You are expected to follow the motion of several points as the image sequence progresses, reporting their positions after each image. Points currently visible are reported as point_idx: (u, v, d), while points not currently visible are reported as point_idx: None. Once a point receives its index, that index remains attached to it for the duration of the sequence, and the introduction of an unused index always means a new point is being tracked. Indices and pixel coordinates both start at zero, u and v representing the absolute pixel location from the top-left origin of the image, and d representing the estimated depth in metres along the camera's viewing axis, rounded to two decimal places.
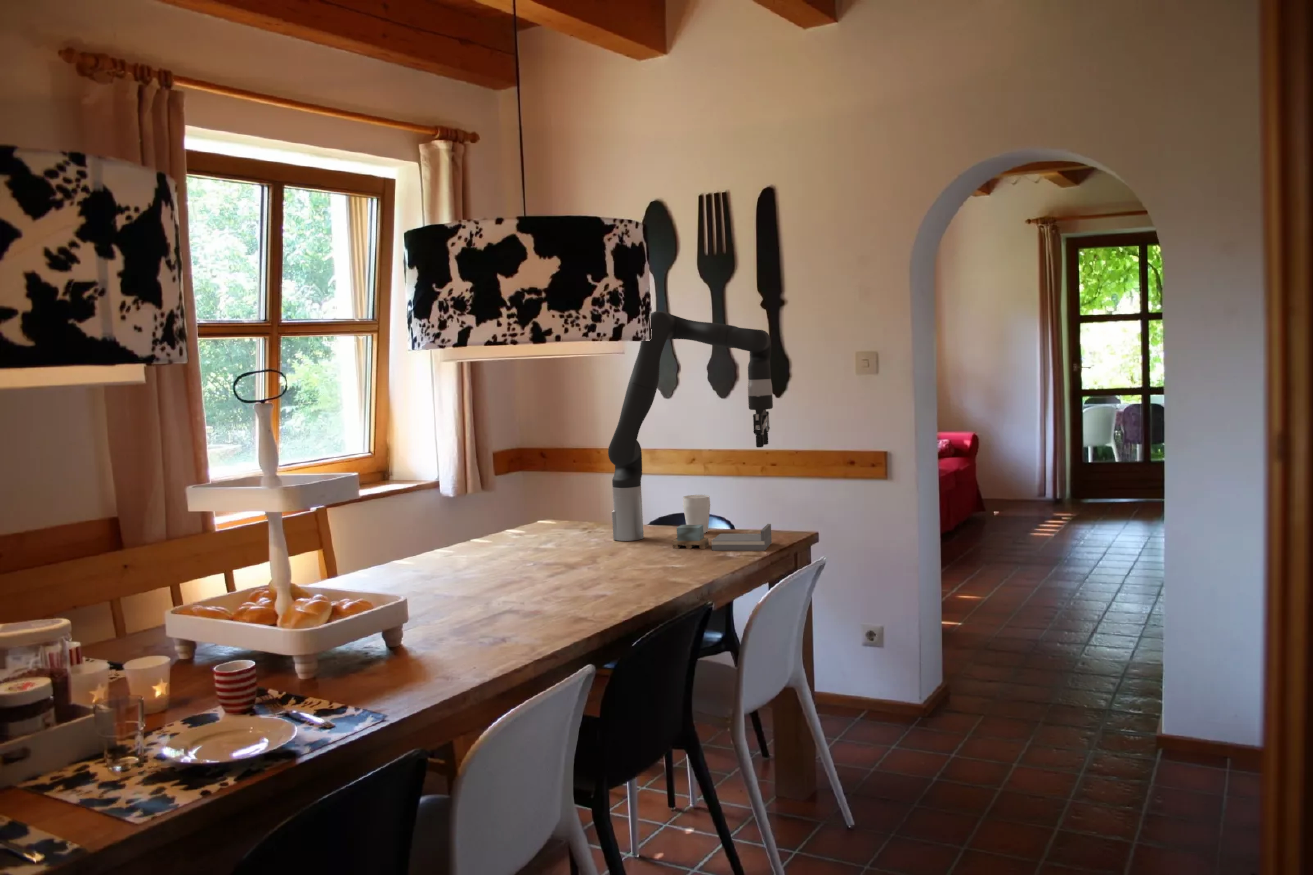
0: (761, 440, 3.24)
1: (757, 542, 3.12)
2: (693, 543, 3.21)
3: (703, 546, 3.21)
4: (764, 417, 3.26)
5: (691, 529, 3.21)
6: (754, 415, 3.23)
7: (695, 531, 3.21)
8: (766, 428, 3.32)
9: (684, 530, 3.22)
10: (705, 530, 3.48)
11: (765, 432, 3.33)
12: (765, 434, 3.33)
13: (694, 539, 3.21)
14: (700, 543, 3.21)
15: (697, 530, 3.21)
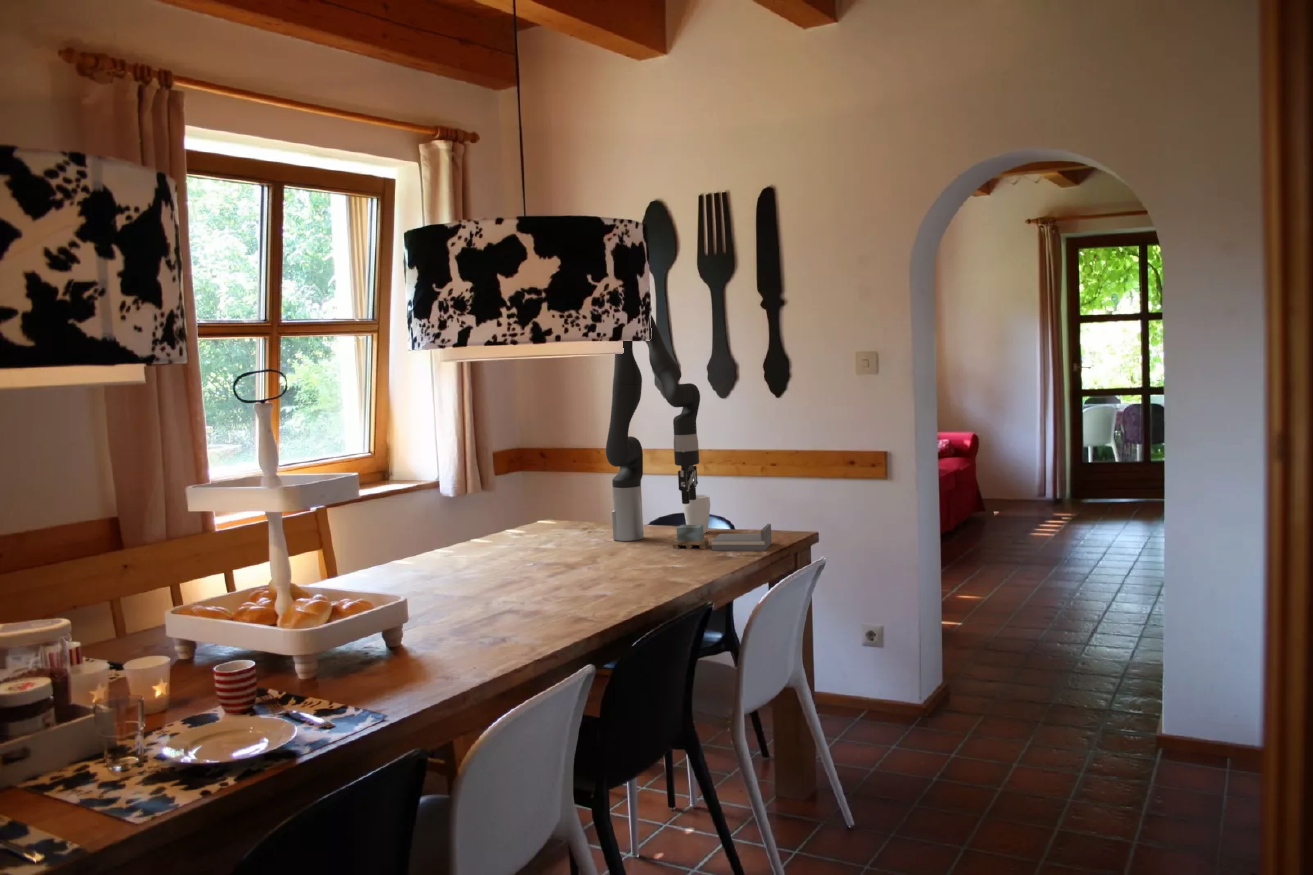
0: (687, 497, 3.18)
1: (757, 542, 3.12)
2: (693, 543, 3.21)
3: (703, 546, 3.21)
4: (690, 473, 3.20)
5: (691, 529, 3.21)
6: (679, 471, 3.17)
7: (695, 531, 3.21)
8: (693, 483, 3.26)
9: (684, 530, 3.22)
10: (705, 530, 3.48)
11: (693, 487, 3.27)
12: (693, 489, 3.27)
13: (694, 539, 3.21)
14: (700, 543, 3.21)
15: (697, 530, 3.21)
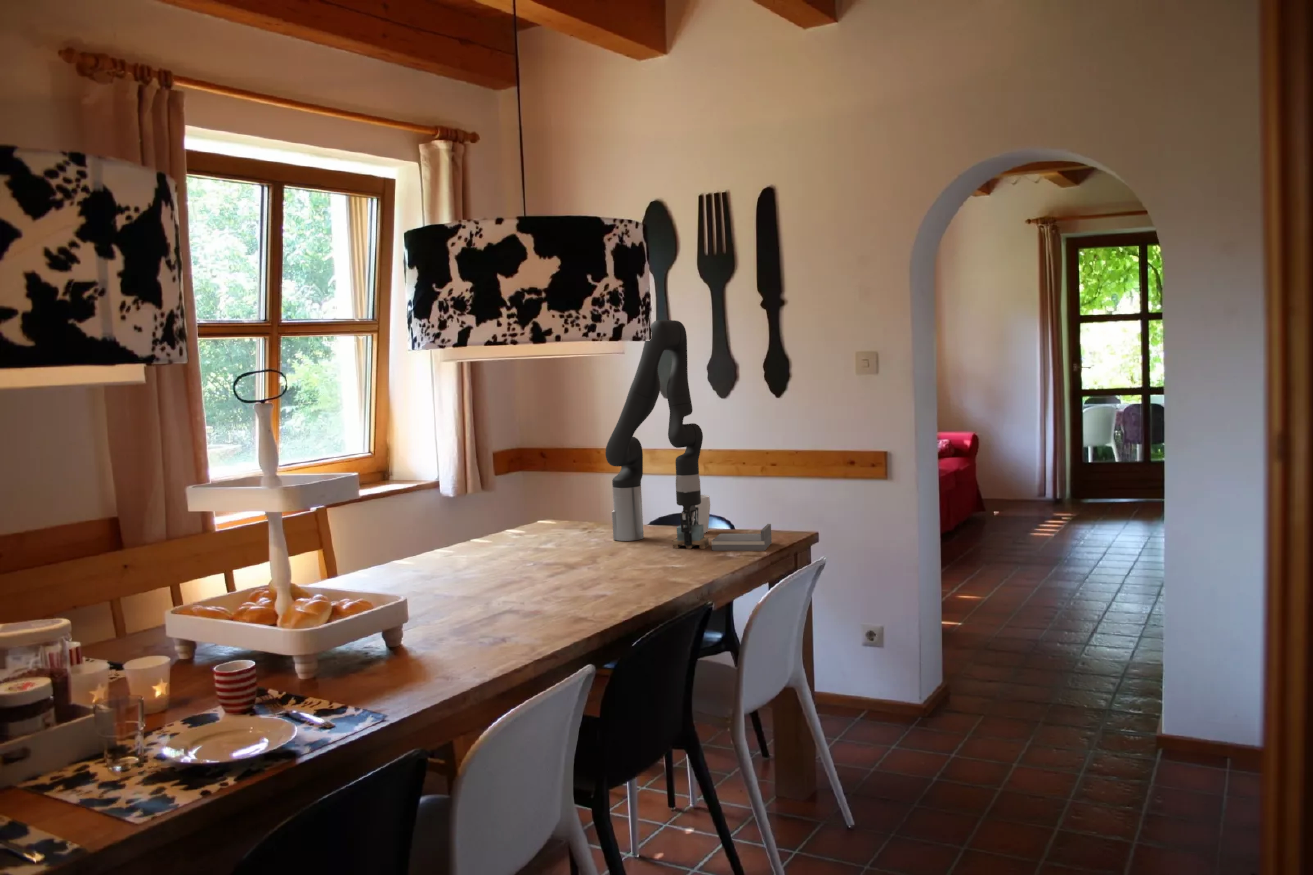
0: (689, 538, 3.20)
1: (757, 542, 3.12)
2: (693, 543, 3.21)
3: (703, 546, 3.21)
4: (692, 514, 3.21)
5: None
6: (681, 515, 3.17)
7: (695, 531, 3.21)
8: (694, 524, 3.26)
9: None
10: (705, 530, 3.48)
11: None
12: None
13: (694, 539, 3.21)
14: (700, 543, 3.21)
15: (697, 530, 3.21)
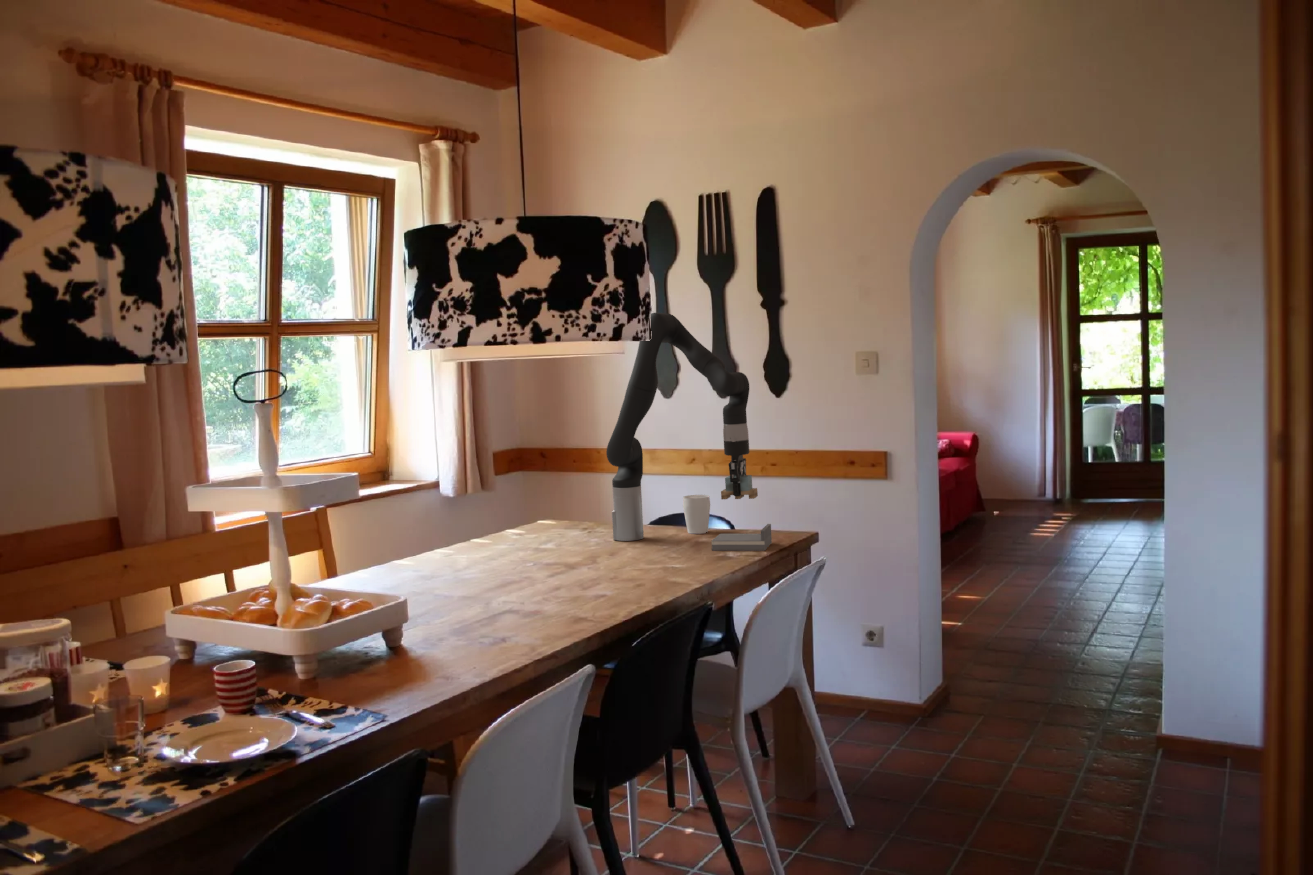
0: (738, 489, 3.15)
1: (757, 542, 3.12)
2: (742, 493, 3.16)
3: (752, 496, 3.15)
4: (740, 463, 3.16)
5: (740, 479, 3.15)
6: (730, 464, 3.12)
7: (744, 481, 3.15)
8: (742, 475, 3.20)
9: None
10: (705, 530, 3.48)
11: None
12: None
13: (743, 489, 3.15)
14: (749, 493, 3.15)
15: (746, 480, 3.15)
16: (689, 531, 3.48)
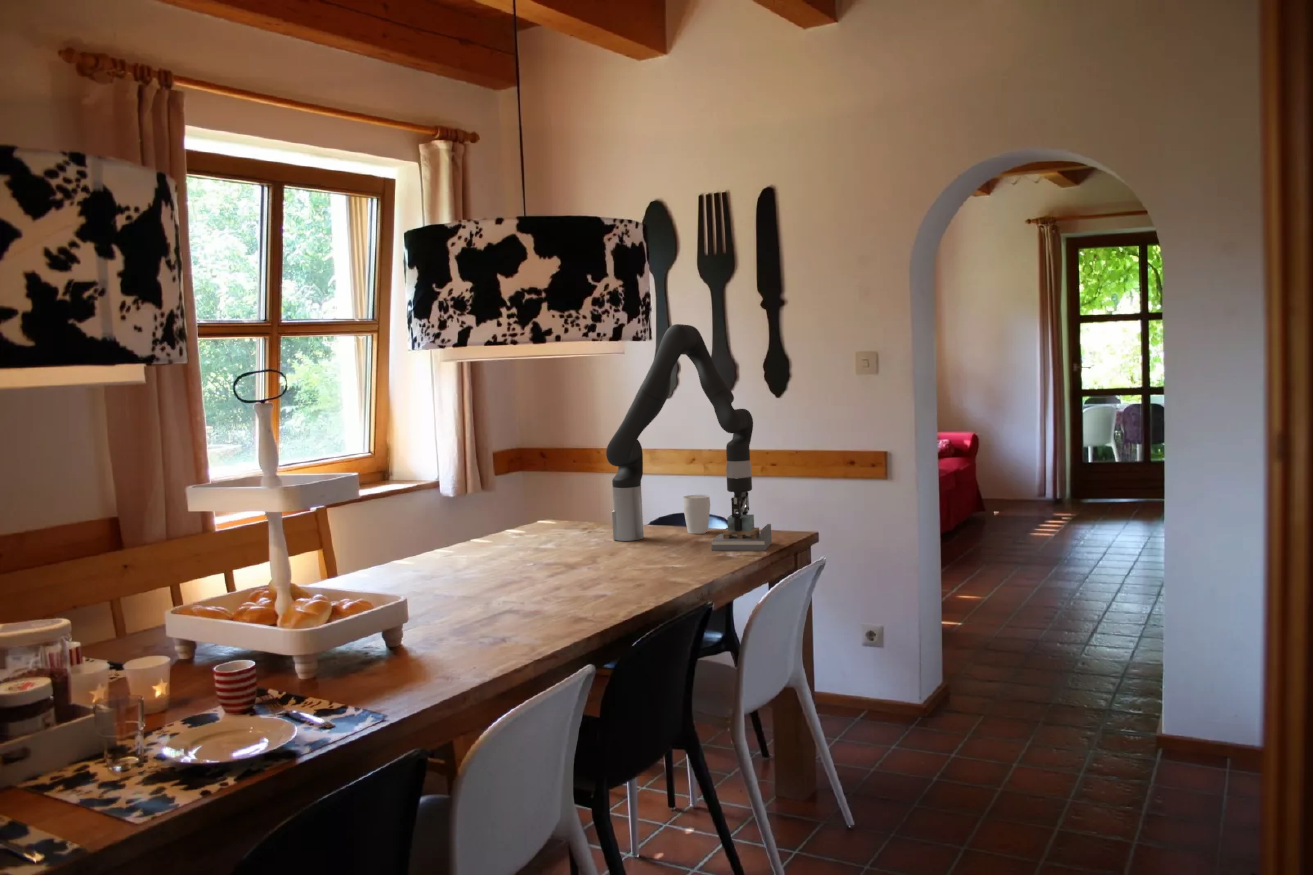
0: (740, 524, 3.15)
1: (757, 542, 3.12)
2: (744, 533, 3.17)
3: (754, 536, 3.16)
4: (743, 500, 3.17)
5: (742, 519, 3.17)
6: (732, 499, 3.13)
7: (746, 521, 3.16)
8: (745, 509, 3.22)
9: None
10: (705, 530, 3.48)
11: (744, 513, 3.23)
12: None
13: (745, 529, 3.17)
14: (751, 533, 3.16)
15: (748, 520, 3.16)
16: (689, 531, 3.48)
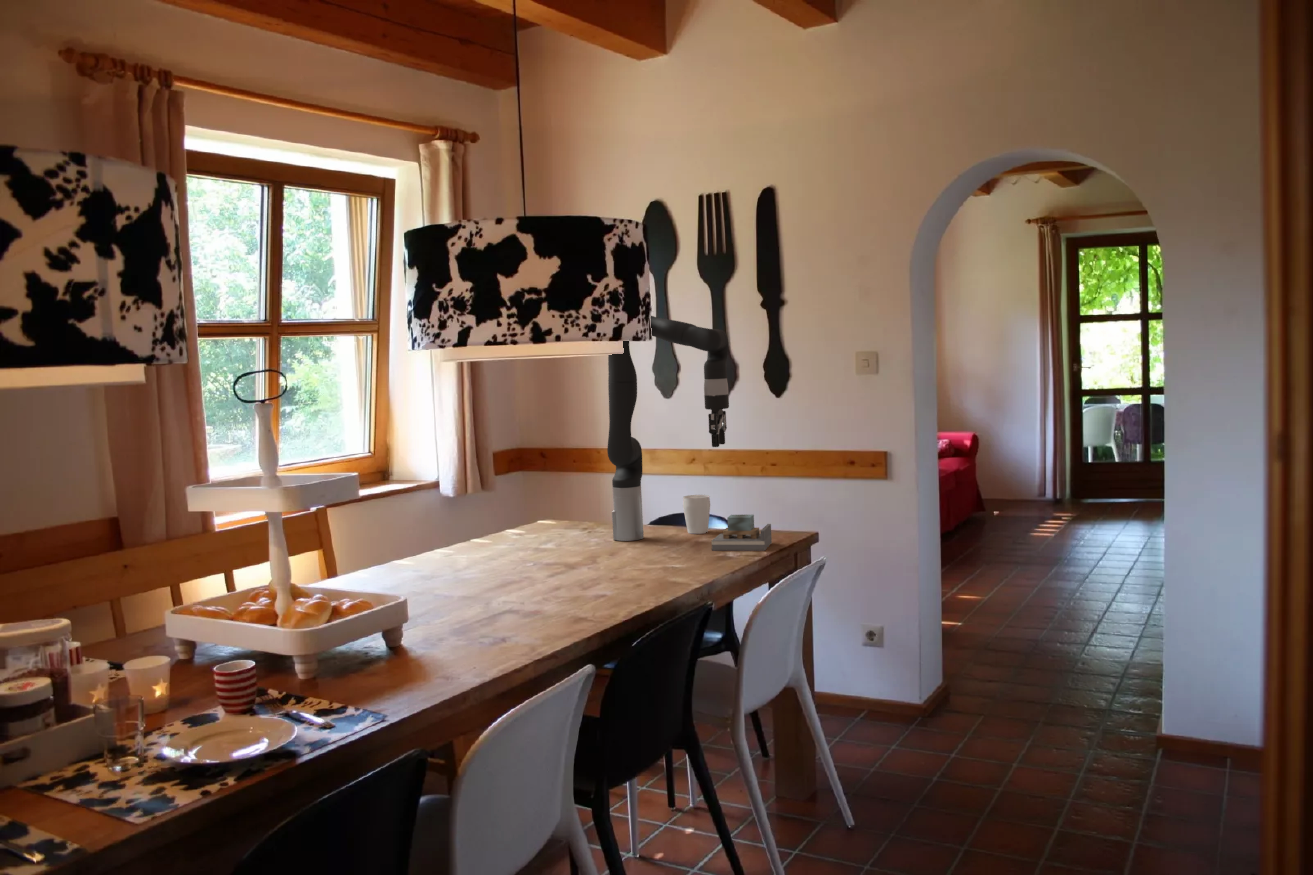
0: (717, 440, 3.24)
1: (757, 542, 3.12)
2: (744, 533, 3.17)
3: (754, 536, 3.16)
4: (720, 417, 3.26)
5: (742, 519, 3.17)
6: (709, 415, 3.22)
7: (746, 521, 3.16)
8: (723, 428, 3.32)
9: (735, 519, 3.17)
10: (705, 530, 3.48)
11: (722, 432, 3.33)
12: (722, 434, 3.33)
13: (745, 529, 3.17)
14: (751, 533, 3.16)
15: (748, 520, 3.16)
16: (689, 531, 3.48)
